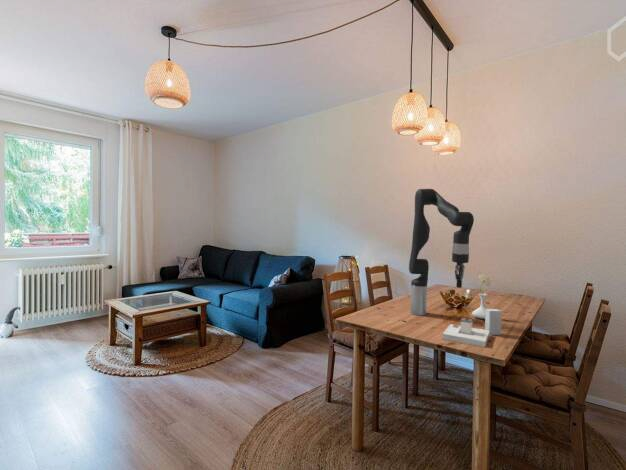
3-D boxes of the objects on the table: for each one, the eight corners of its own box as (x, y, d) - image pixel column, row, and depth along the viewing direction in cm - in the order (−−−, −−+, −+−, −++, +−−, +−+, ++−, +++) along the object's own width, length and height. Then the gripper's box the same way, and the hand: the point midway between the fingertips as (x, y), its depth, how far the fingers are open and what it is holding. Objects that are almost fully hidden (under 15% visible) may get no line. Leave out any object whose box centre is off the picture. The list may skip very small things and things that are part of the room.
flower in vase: (496, 321, 187) (498, 277, 186) (474, 319, 190) (476, 276, 189) (489, 314, 200) (490, 273, 199) (468, 313, 202) (470, 272, 201)
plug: (461, 334, 163) (462, 316, 163) (472, 335, 161) (472, 318, 160) (460, 336, 160) (460, 318, 159) (470, 338, 157) (471, 320, 157)
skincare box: (496, 332, 169) (496, 308, 168) (501, 335, 164) (502, 311, 164) (484, 332, 168) (485, 308, 168) (489, 335, 164) (489, 311, 164)
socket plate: (450, 329, 173) (450, 323, 172) (489, 335, 163) (489, 329, 163) (442, 339, 158) (442, 332, 157) (484, 347, 148) (485, 340, 148)
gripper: (454, 250, 171) (453, 284, 172) (449, 253, 160) (448, 288, 161) (470, 251, 167) (469, 285, 168) (466, 254, 156) (465, 291, 157)
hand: (459, 287), depth 164 cm, fingers closed
